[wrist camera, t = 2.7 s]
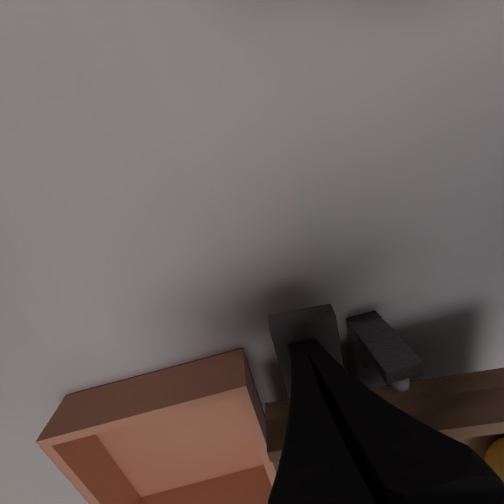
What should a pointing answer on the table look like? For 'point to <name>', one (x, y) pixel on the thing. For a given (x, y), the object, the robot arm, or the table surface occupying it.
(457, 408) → the brown wooden tray
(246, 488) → the tray
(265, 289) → the table surface
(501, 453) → the ball
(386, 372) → the seesaw stand
